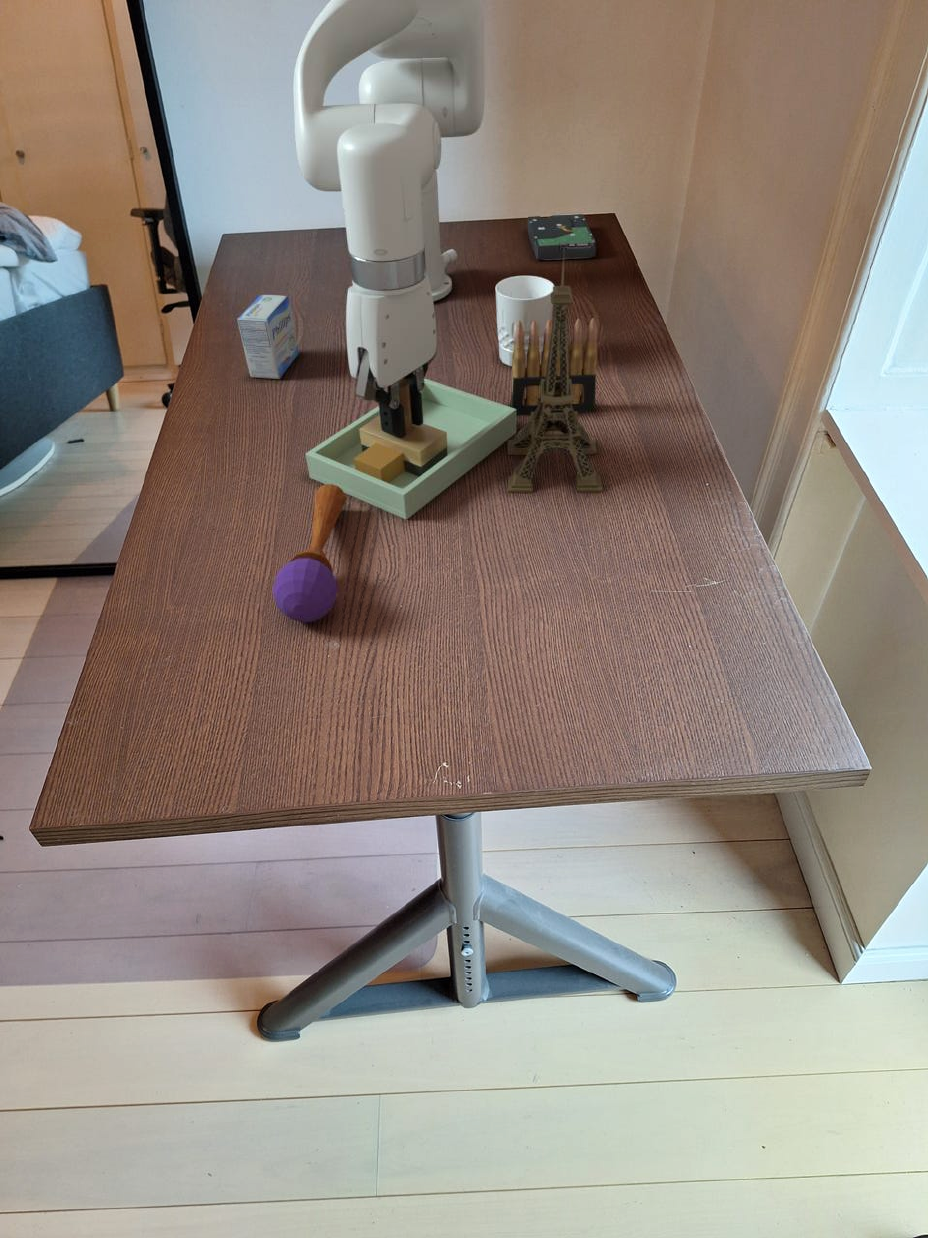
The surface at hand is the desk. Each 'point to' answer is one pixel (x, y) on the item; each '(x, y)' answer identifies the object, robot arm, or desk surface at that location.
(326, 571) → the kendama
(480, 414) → the tray
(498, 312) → the white cup
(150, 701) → the desk surface
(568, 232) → the disk drive
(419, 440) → the brush
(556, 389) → the eiffel tower
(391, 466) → the wooden block
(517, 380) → the ammunition clip
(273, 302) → the medicine box
